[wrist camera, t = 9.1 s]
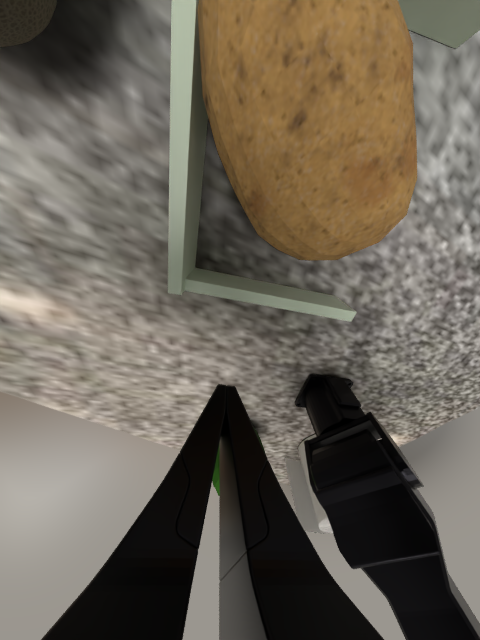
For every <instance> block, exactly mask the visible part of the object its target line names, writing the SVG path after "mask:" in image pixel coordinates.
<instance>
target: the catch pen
mask: <svg viewBox="0 0 480 640" xmlns="http://www.w3.org/2000/svg"><path fill="white" fill-rule="evenodd" d="M398 2H399V5H400V8H401V11H402V14H403V17H404V20H405V22H406V25H407V28H408V30H411V31H413V32H416V33H418V34H421V35H423V36H426V37H428V38H430V39H433V40H435V41H438V42H440V43H443V44H445V45H448V46H450V47H452V48H455V49H456V48H457V47H459V46H460V45H461V44H462V43H464V42H465V41H466V40H468V39H469V38H470V37H471V36H473V35H474V34H475V33H476V32H478V31H479V30H480V0H398ZM198 4H199V0H172V13H171V86H170V160H169V233H168V293H171V294H177V295H182V293H183V292H184V291H188V292H193V293H198V294H204V295H209V296H215V297H220V298H225V299H231V300H236V301H242V302H247V303H252V304H258V305H263V306H269V307H274V308H280V309H285V310H290V311H296V312H301V313H307V314H312V315H317V316H323V317H328V318H334V319H339V320H344V321H350V322H351V321H352V319H353V318H354V316H355V314H356V311H355V310H353V309H352V308H351V307H349V306H348V305H347V304H345V303H344V302H343V301H341V300H340V299H338V298H337V297H336V296H334V295H329V294H324V293H319V292H314V291H309V290H304V289H299V288H294V287H289V286H284V285H279V284H274V283H269V282H264V281H259V280H254V279H249V278H244V277H239V276H234V275H229V274H224V273H219V272H214V271H209V270H204V269H199V268H195V265H196V253H197V242H198V230H199V218H200V207H201V195H202V183H203V172H204V160H205V148H206V136H207V125H208V115H207V111H206V107H205V103H204V100H203V96H202V78H201V61H200V44H199V27H198Z"/></svg>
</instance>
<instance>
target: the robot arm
mask: <svg viewBox="0 0 480 640" xmlns="http://www.w3.org/2000/svg"><path fill="white" fill-rule="evenodd" d="M352 385H353V382H352V381H351V380H349V379H342V378H335V377H328V376H322V375H315V374H312V375H310V376H309V377H308V379H307V381H306V383H305V385H304V386H303V388H302V390H301V392H300V394H299V396H298V397H297V399H296V401H295V404H296V406H297V407H305V408H306V410H307V413H308V415H309V418H310V421H311V423H312V426H313V429H314V431H315V434H316V437H314V438H312V439H310V440H305V441H304V445H305V454H306V461H307V467H308V474H309V480H310V485H311V487H312V491H313V493H314V494H315V495H316V498H317V500H318V501H319V503H320V505H321V506H322V508H323V509H324V510H325V512H326V515H327V517H328V520H329V522H330V525H331V528H332V531H333V534H334V537H335V540H336V543H337V546H338V548H339V550H340V552H341V554H342V555H343V557H344V558H345V560H346V561H347V563H348V564H349V565H350V567H351V568H353V569H357V568H361V569H362V570H363V571H364V572H365V573H366V574H367V576H368V577H369V578H370V579H371V581H372V582H373V583H374V584H375V585H376V586H377V587H378V589H379V590H380V591H381V592H382V593H383V595H384V596H385V597H386V598H387V600H388V602H389V604H390V606H391V608H392V610H393V612H394V614H395V617H396V619H397V621H398V623H399V625H400V628H401V630H402V632H403V634H404V636H405V639H406V640H480V623H479V622H478V620H477V619H476V617H475V615H474V614H473V612H472V611H471V609H470V607H469V606H468V604H467V603H466V601H465V599H464V598H463V596H462V595H461V593H460V591H459V590H458V588H457V587H456V585H455V583H454V582H453V580H452V579H451V577H450V575H449V574H448V571H447V568H446V564H445V559H444V555H443V551H442V547H441V542H440V538H439V534H438V530H437V526H436V521H435V517H434V514H433V512H432V510H431V509H430V507H429V506H428V504H427V503H426V501H425V500H424V498H423V497H422V495H421V494H420V492H419V491H418V490H417V488H420V487H423V484H422V482H421V481H420V479H419V478H418V476H417V475H416V473H415V472H414V470H413V468H412V467H411V465H410V464H409V462H408V461H407V459H406V458H405V456H404V455H403V453H402V452H401V450H400V449H399V447H398V446H397V445H396V443H395V442H394V441H393V439H392V438H391V436H390V435H389V434H388V432H387V431H386V430H385V428H384V427H383V426H382V425H381V424H380V422H379V421H378V420H377V419H376V418H375V417H374V415H373V414H372V413H371V412H369V413H367V414H366V415H365V414H364V412H363V411H362V409H361V408H360V407H361V404H360V402H359V401H358V399H357V398H356V396H355V395H354V394H353V392H352V391H351V389H350V388H351V386H352ZM380 438H382V439H380ZM378 439H380V440H378ZM219 442H220V567H219V569H220V570H219V572H220V573H219V574H220V575H219V576H220V577H219V579H220V583H219V586H220V588H219V589H220V590H219V612H220V613H219V616H220V617H219V618H220V619H219V621H220V622H219V640H384V639H383V638H382V637H381V636H380V634H379V633H378V632H377V631H376V630H375V628H374V627H373V626H372V625H371V624H370V622H369V621H368V620H367V619H366V618H365V617H364V615H363V614H362V613H361V612H360V611H359V609H358V608H357V607H356V606H355V605H354V603H353V602H352V601H351V600H350V599H349V597H348V596H347V595H346V594H345V593H344V592H343V590H342V589H341V588H340V587H339V585H338V584H337V583H336V581H335V580H334V579H333V577H332V576H331V575H330V573H329V572H328V570H327V569H326V567H325V566H324V564H323V562H322V561H321V559H320V557H319V556H318V554H317V552H316V550H315V549H314V547H313V545H312V543H311V541H310V540H309V538H308V536H307V534H306V532H305V531H304V529H303V527H302V525H301V523H300V522H299V520H298V518H297V516H296V514H295V513H294V511H293V509H292V508H291V505H290V504H289V502H288V500H287V498H286V496H285V494H284V492H283V490H282V489H281V487H280V485H279V482H278V480H277V478H276V476H275V474H274V472H273V470H272V467H271V465H270V463H269V461H267V460H268V459H267V456H266V454H265V452H264V450H263V447H262V445H261V443H260V441H259V439H258V436H257V434H256V432H255V430H254V427H253V425H252V423H251V421H250V418H249V416H248V414H247V412H246V409H245V407H244V405H243V403H242V401H241V398H240V396H239V394H238V392H237V389H236V387H235V386H230V385H227V386H226V385H222V384H218V385H217V387H216V389H215V391H214V392H213V394H212V396H211V398H210V399H209V401H208V403H207V405H206V406H205V408H204V410H203V412H202V414H201V415H200V417H199V419H198V421H197V422H196V424H195V426H194V428H193V430H192V431H191V433H190V435H189V437H188V438H187V440H186V442H185V444H184V446H183V447H182V449H181V451H180V454H178V456H177V458H176V460H175V461H174V463H173V465H172V466H171V468H170V470H169V471H168V473H167V475H166V476H165V478H164V480H163V481H162V483H161V484H160V486H159V487H158V489H157V490H156V492H155V493H154V495H153V497H152V498H151V499H150V501H149V502H148V504H147V505H146V506H145V508H144V509H143V511H142V512H141V514H140V515H139V516H138V518H137V519H136V521H135V522H134V524H133V525H132V526H131V528H130V529H129V531H128V532H127V534H126V535H125V536H124V538H123V539H122V541H121V542H120V544H119V545H118V546H117V548H116V549H115V550H114V552H113V553H112V555H111V556H110V557H109V559H108V560H107V562H106V563H105V564H104V565H103V567H102V568H101V569H100V571H99V572H98V573H97V575H96V576H95V577H94V578H93V580H92V581H91V582H90V584H89V585H88V586H87V587H86V588H85V590H84V591H83V592H82V593H81V594H80V595H79V596H78V598H77V599H76V600H75V601H74V602H73V603H72V604H71V606H70V607H69V608H68V609H67V610H66V611H65V613H64V614H63V615H62V616H61V617H60V618H59V619H58V621H57V622H56V623H55V624H54V625H53V626H52V628H51V629H50V630H49V631H48V632H47V634H46V635H45V636H44V637H43V638H42V639H41V640H182V639H183V633H184V627H185V621H186V615H187V610H188V604H189V598H190V593H191V586H192V581H193V576H194V570H195V565H196V560H197V555H198V549H199V545H200V539H201V534H202V529H203V524H204V519H205V514H206V509H207V504H208V499H209V494H210V488H211V483H212V478H213V473H214V468H215V463H216V458H217V453H218V448H219Z"/></svg>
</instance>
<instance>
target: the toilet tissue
mask: <svg viewBox="0 0 480 640" xmlns="http://www.w3.org/2000/svg"><path fill="white" fill-rule="evenodd" d="M314 437H316V434H315V435H312V436H310V437H308V438H306V439H305V440H310V439H312V438H314ZM305 440H304V441H305ZM304 441H302V443H301V444H300V445H299V447H298V453H299V456H300V460H301V461H299V460H294V459H289V458H286V457H285V461H286V466H287V471H288V476H289V481H290V486H291V491H292V496H293V500H294V505H295V509H296V514H297V518H298V520H299V522H300V523H301V525H302V527H303V529H304V531H308V532H314V533H317V532H318V533H323V534H324V533H333V531H332V528H331V525H330V522H329V520H328V517H327V515H326V512H325V510H324V509H323V508H322V506H321V505H320V503H319V501H318V500H317V498H316V495H315V494H314V493H313V491H312V487H311V485H310V480H309V474H308V467H307V461H306V454H305V445H304Z"/></svg>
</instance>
